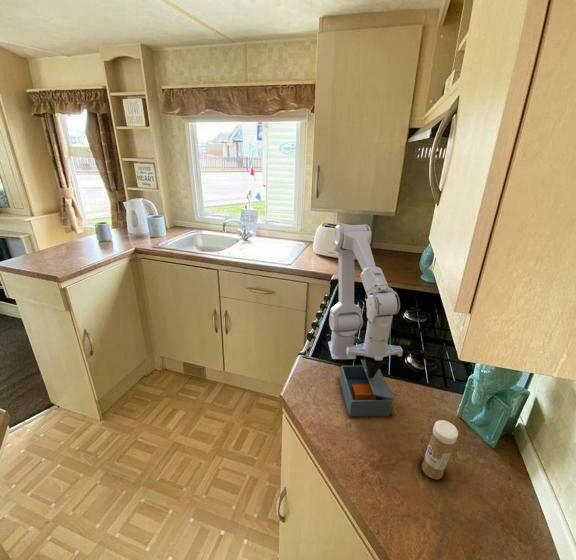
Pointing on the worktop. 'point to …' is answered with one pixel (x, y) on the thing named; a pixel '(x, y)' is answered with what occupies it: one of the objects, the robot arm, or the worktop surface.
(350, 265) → the robot arm
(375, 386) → the flap
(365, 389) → the packet
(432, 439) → the sprinkles bottle
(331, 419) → the worktop surface
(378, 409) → the grey open box
